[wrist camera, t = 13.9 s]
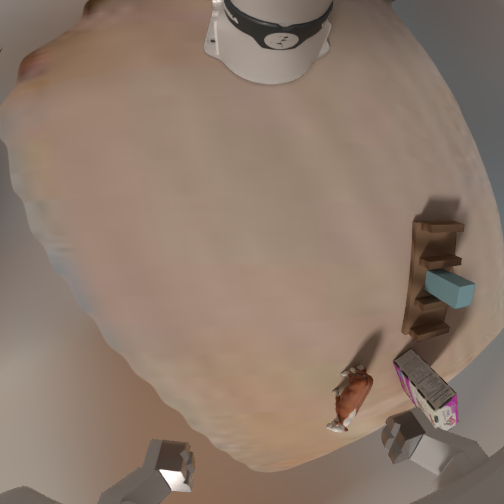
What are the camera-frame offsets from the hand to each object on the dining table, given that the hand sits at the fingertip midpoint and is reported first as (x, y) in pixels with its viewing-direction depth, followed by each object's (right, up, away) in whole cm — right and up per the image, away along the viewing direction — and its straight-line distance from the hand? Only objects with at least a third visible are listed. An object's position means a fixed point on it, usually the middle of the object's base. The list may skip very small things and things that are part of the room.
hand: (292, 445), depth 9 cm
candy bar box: (+30, -16, +37) cm, 51 cm away
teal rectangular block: (+30, +3, +31) cm, 43 cm away
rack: (+30, +3, +32) cm, 44 cm away
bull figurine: (+15, -17, +37) cm, 43 cm away
